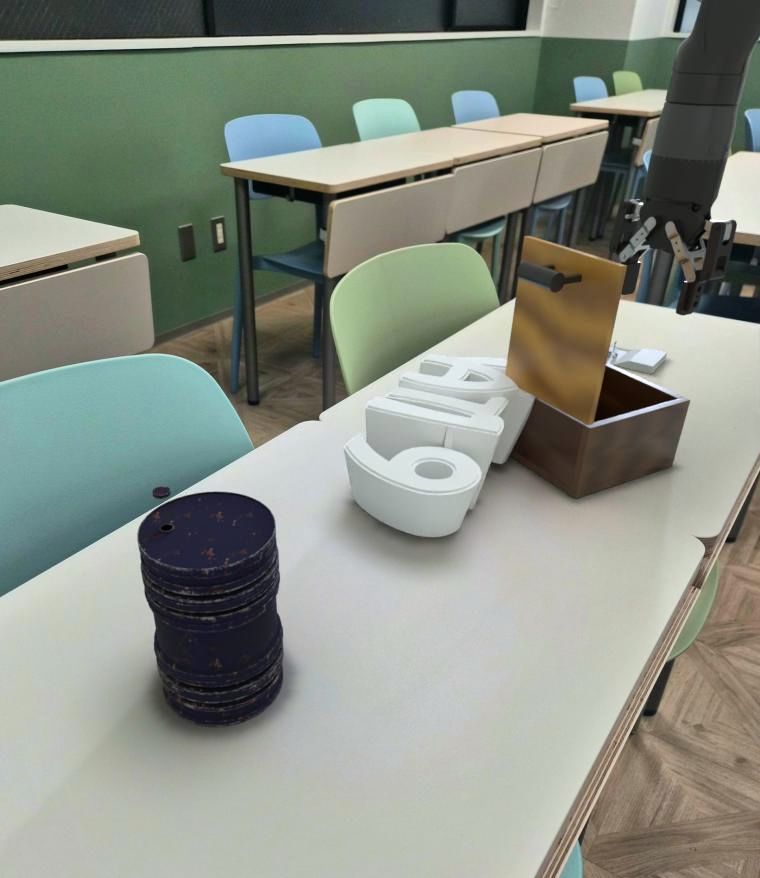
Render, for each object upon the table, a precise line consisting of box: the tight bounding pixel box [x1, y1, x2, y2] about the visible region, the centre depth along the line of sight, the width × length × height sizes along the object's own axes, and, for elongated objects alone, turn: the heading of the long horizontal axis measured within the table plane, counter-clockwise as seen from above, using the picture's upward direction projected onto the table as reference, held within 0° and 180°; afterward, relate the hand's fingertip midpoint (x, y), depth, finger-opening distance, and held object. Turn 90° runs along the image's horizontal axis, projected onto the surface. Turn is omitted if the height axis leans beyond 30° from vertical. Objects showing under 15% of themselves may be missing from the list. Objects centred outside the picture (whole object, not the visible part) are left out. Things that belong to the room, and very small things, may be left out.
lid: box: [505, 235, 627, 425], centre depth 78 cm, size 17×14×5 cm
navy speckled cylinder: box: [136, 485, 284, 728], centre depth 55 cm, size 10×10×18 cm
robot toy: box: [607, 341, 668, 375], centre depth 120 cm, size 7×12×2 cm, turn 53°
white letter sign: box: [343, 353, 537, 538], centre depth 84 cm, size 35×16×11 cm, turn 149°
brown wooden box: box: [509, 362, 691, 500], centre depth 90 cm, size 16×14×9 cm
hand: (653, 303), depth 85 cm, fingers open, 8 cm apart
